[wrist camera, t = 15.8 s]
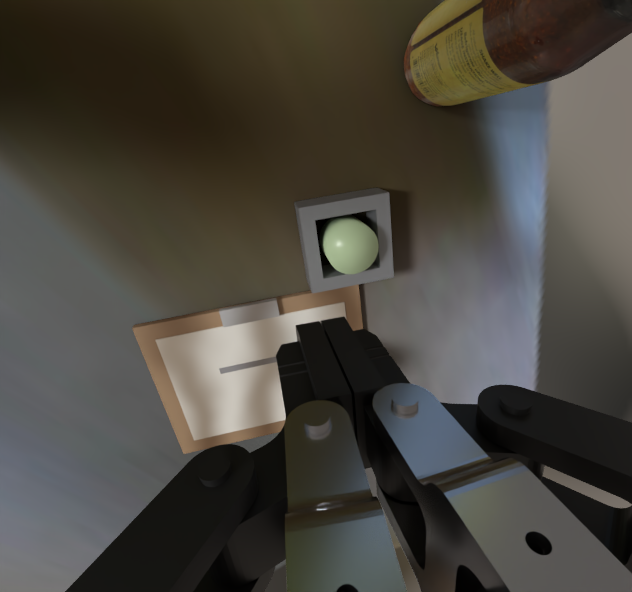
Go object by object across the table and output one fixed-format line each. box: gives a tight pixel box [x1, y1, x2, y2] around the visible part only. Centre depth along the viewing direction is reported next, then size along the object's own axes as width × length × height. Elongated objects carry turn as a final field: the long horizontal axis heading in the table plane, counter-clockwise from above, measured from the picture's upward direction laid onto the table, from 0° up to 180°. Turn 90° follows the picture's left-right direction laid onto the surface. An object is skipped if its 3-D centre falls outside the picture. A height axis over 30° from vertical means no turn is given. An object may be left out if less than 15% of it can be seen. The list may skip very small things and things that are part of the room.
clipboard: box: [132, 284, 363, 454], centre depth 35 cm, size 20×15×1 cm
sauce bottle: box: [404, 0, 632, 106], centre depth 18 cm, size 7×6×20 cm
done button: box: [319, 215, 379, 274], centre depth 29 cm, size 4×4×4 cm
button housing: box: [294, 188, 394, 294], centre depth 30 cm, size 7×7×3 cm
